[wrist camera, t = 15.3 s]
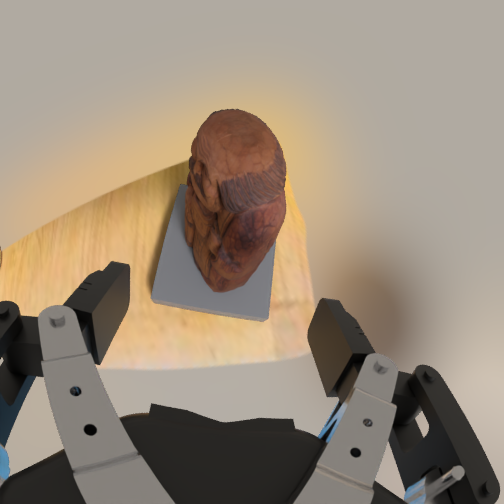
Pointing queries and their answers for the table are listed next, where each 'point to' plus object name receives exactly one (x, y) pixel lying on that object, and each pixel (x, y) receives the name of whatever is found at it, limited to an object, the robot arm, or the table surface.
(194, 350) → the table surface
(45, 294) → the table surface
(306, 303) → the table surface
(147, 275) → the table surface
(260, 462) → the robot arm
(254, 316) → the base
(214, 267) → the wooden figurine
